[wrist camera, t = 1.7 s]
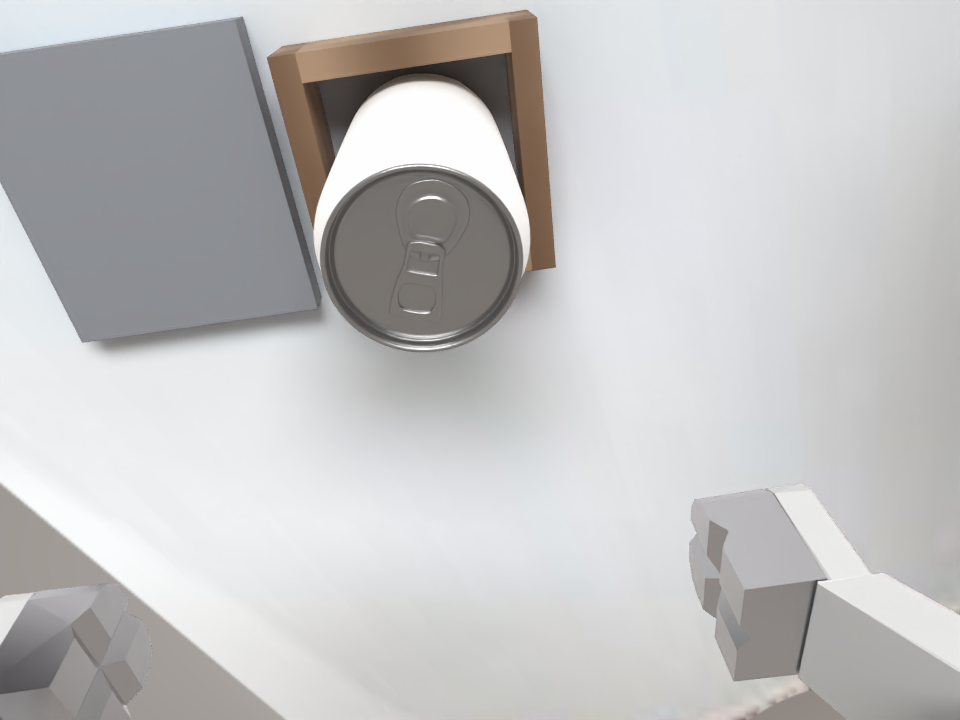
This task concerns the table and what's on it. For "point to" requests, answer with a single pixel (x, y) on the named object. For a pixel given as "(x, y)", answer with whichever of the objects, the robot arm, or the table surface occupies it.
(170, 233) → the coaster
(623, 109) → the table surface
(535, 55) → the square wooden frame
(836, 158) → the table surface
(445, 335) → the can
